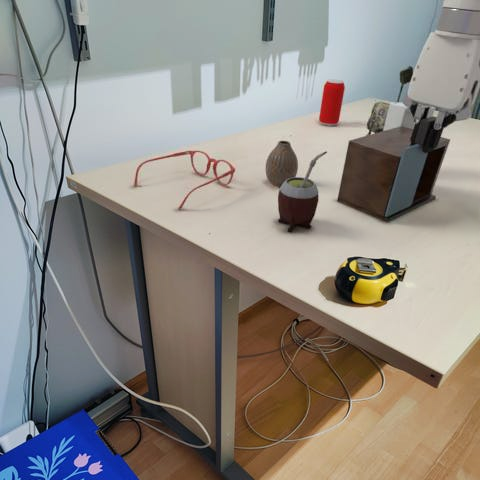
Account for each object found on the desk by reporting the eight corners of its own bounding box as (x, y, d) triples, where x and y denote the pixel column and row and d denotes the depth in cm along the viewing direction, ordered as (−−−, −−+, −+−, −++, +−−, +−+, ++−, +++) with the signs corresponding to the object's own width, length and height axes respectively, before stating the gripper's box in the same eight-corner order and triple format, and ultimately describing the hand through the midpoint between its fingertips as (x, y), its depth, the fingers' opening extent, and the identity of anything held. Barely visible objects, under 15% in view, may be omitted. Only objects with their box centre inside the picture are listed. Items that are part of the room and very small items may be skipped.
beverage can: (338, 122, 134) (346, 79, 126) (337, 127, 129) (345, 83, 121) (319, 120, 135) (325, 77, 127) (317, 125, 130) (324, 81, 122)
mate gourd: (282, 213, 81) (291, 131, 72) (322, 222, 79) (337, 138, 70) (269, 229, 76) (277, 143, 66) (311, 239, 74) (326, 151, 64)
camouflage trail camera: (359, 146, 116) (377, 61, 103) (402, 151, 114) (425, 66, 101) (357, 155, 110) (376, 66, 97) (402, 161, 108) (427, 71, 95)
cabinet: (435, 199, 90) (455, 140, 82) (387, 222, 80) (405, 158, 72) (386, 181, 96) (401, 125, 89) (336, 201, 87) (348, 140, 79)
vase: (287, 192, 89) (292, 149, 84) (258, 185, 92) (261, 143, 86) (300, 182, 94) (306, 141, 88) (272, 175, 96) (276, 135, 91)
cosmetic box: (386, 177, 98) (405, 108, 89) (372, 168, 102) (388, 101, 93) (416, 174, 100) (437, 106, 91) (400, 166, 105) (419, 100, 95)
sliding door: (413, 206, 83) (442, 117, 73) (389, 218, 79) (416, 125, 69) (406, 203, 84) (433, 115, 74) (382, 215, 80) (407, 123, 69)
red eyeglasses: (242, 190, 89) (243, 167, 86) (183, 212, 80) (181, 186, 77) (189, 167, 98) (188, 145, 95) (130, 184, 89) (127, 160, 86)
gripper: (526, 32, 62) (473, 159, 73) (428, 19, 70) (394, 134, 82) (506, 32, 58) (453, 166, 69) (404, 18, 66) (372, 140, 78)
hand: (421, 148), depth 76 cm, fingers closed
